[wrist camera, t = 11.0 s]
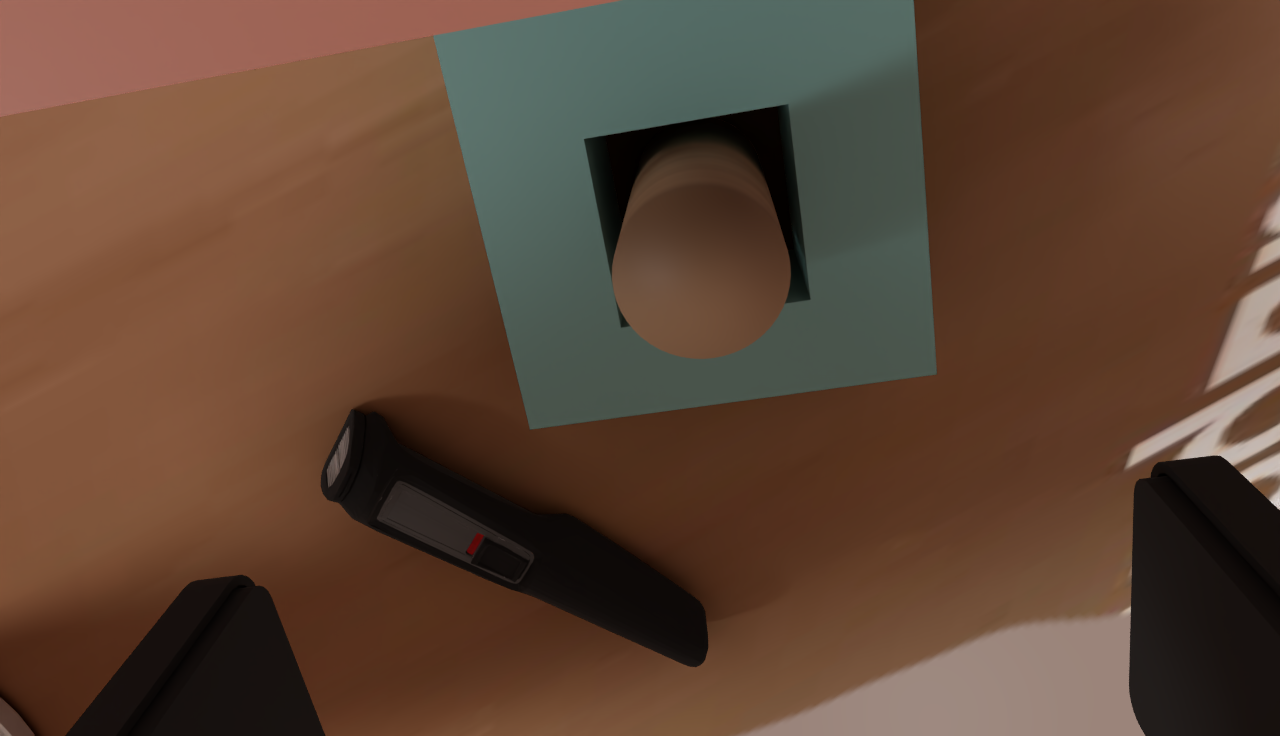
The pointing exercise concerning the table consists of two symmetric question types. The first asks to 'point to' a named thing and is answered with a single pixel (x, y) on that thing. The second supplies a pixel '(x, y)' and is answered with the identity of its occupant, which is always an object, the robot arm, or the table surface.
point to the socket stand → (596, 159)
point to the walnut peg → (700, 244)
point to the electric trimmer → (508, 541)
